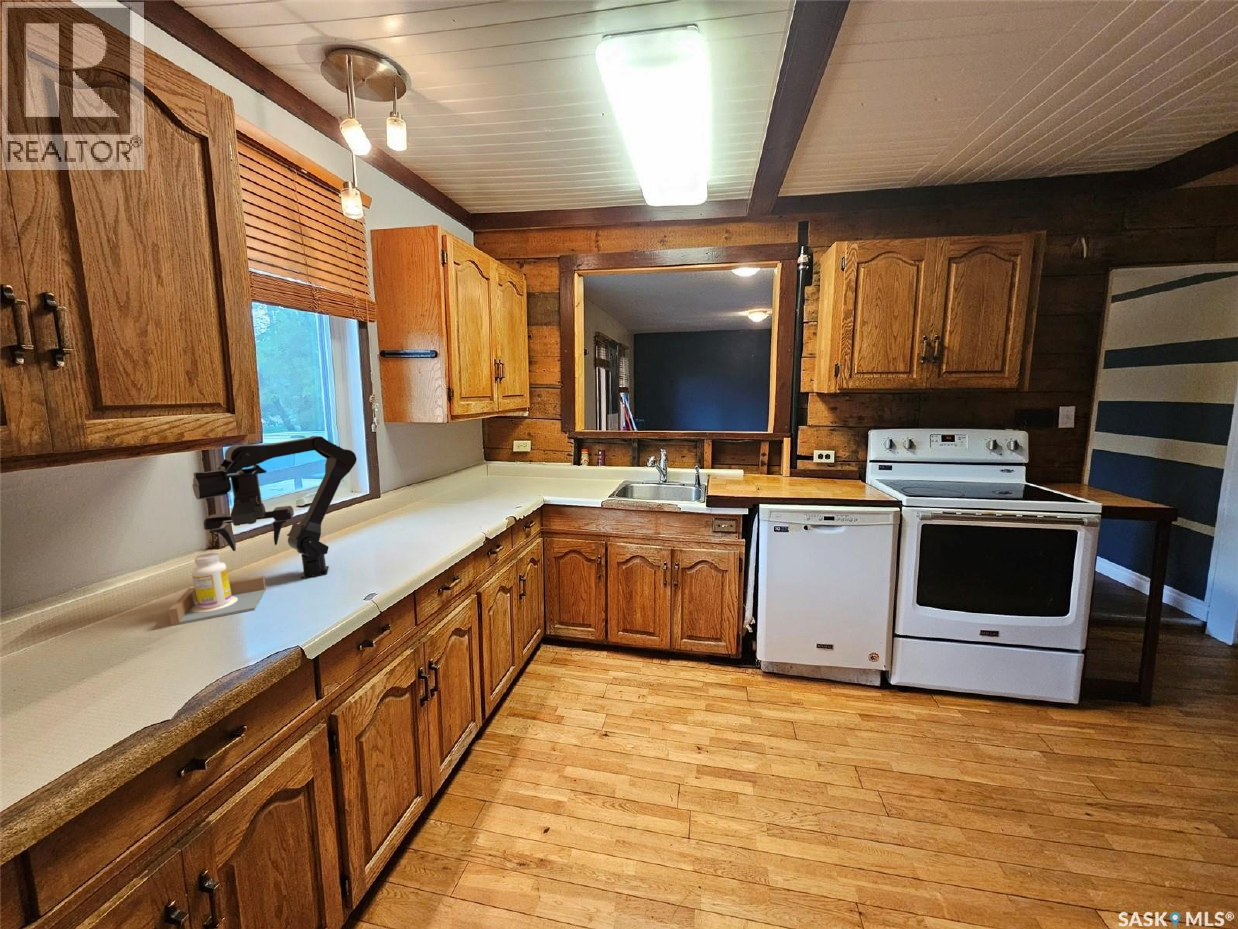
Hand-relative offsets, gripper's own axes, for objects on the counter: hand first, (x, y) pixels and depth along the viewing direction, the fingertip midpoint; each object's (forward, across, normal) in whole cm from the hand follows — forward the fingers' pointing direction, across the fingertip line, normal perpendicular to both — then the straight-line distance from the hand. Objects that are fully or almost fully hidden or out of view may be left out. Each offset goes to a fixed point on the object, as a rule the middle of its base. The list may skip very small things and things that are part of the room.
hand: (255, 547), depth 130 cm
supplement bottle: (+11, -8, -8) cm, 16 cm away
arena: (+12, -7, -8) cm, 16 cm away
